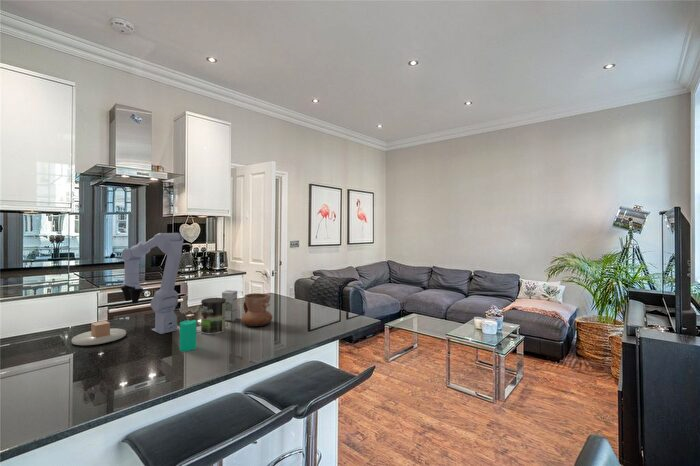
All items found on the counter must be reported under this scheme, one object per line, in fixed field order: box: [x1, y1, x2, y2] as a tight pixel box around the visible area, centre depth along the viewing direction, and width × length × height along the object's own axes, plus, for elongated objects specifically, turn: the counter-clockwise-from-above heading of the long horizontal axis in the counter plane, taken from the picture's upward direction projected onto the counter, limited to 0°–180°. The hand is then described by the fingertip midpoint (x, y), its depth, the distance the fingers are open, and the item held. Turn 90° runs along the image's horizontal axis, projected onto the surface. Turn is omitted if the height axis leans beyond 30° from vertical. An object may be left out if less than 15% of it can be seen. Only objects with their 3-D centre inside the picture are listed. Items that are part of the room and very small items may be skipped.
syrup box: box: [221, 289, 238, 322], centre depth 168 cm, size 6×6×14 cm
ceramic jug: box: [241, 292, 273, 327], centre depth 162 cm, size 18×14×14 cm
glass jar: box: [200, 297, 226, 335], centre depth 150 cm, size 10×10×14 cm
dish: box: [71, 328, 127, 346], centre depth 138 cm, size 18×18×2 cm
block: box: [90, 320, 111, 338], centre depth 138 cm, size 5×5×5 cm
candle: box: [179, 319, 198, 352], centre depth 129 cm, size 6×6×12 cm
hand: (131, 302), depth 158 cm, fingers open, 7 cm apart
